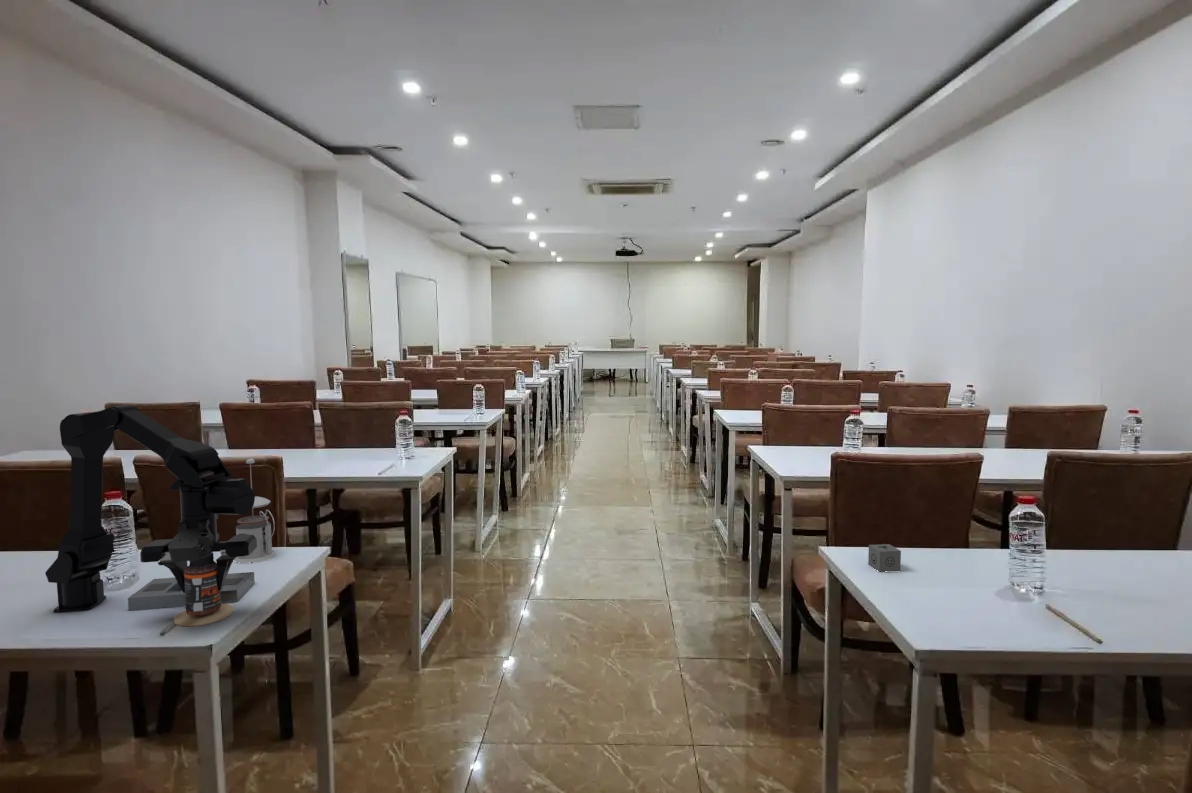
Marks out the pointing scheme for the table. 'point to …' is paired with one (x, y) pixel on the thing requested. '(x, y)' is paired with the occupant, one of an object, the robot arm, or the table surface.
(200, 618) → the cork coaster
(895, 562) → the dice cube
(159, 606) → the grey compartment tray
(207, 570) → the supplement bottle
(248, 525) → the french press
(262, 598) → the table surface
